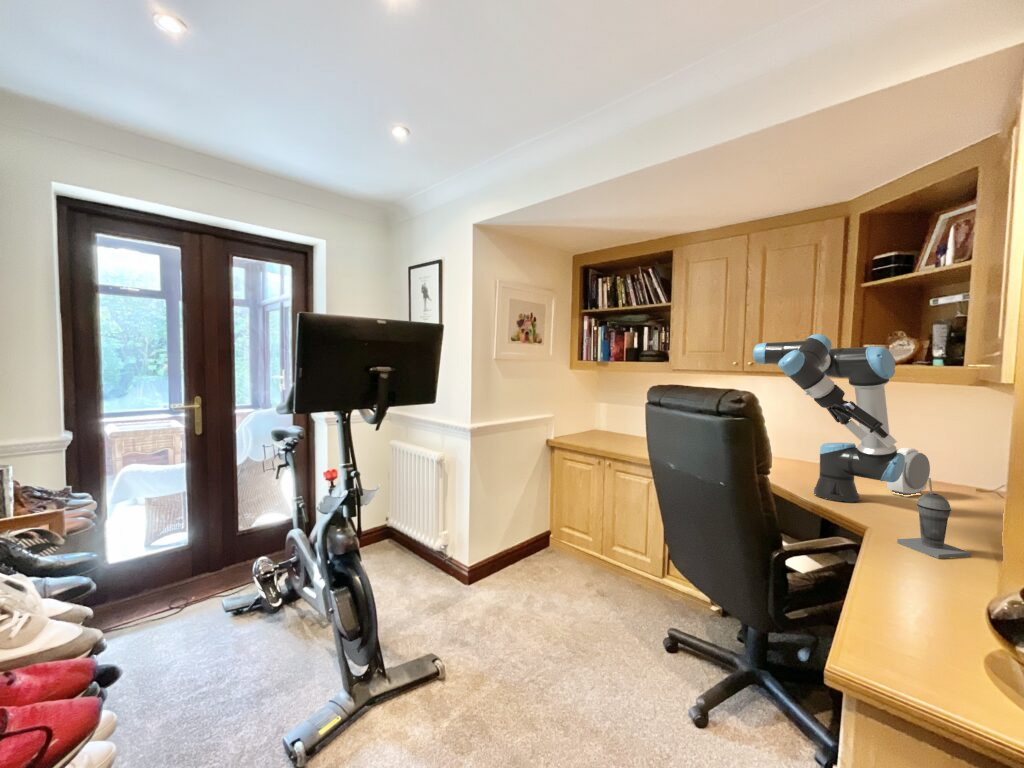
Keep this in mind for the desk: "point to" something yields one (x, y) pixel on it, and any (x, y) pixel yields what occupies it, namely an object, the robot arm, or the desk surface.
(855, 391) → the robot arm
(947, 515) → the beverage cup
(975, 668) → the desk surface
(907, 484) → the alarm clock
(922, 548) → the charcoal rubber mat
